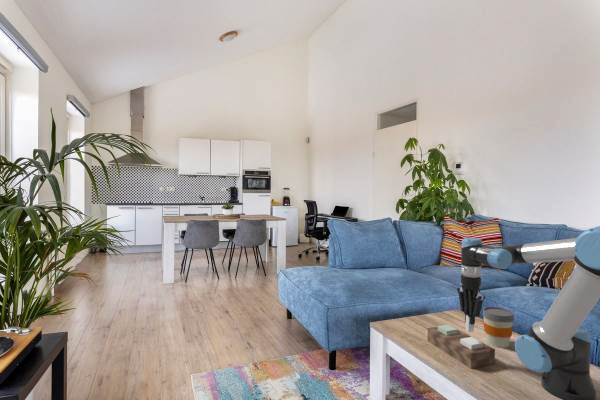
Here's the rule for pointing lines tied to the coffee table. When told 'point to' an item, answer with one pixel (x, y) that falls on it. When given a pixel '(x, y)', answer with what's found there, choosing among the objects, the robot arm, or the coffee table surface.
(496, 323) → the reusable coffee cup
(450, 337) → the key panel
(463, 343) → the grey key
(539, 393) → the coffee table surface
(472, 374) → the coffee table surface
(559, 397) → the robot arm
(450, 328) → the sage key
